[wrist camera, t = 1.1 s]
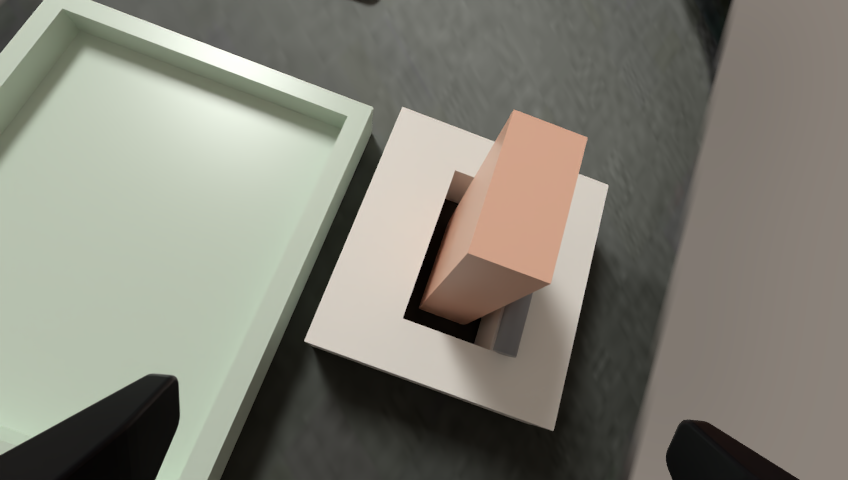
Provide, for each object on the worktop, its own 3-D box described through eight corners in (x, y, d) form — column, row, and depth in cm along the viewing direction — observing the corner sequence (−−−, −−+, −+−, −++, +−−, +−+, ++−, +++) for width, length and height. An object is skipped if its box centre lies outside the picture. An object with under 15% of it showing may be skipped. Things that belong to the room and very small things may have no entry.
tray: (203, 516, 19) (182, 536, 17) (-188, 381, 19) (-267, 382, 16) (371, 132, 25) (373, 107, 23) (83, 23, 25) (54, -14, 23)
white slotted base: (524, 422, 22) (564, 433, 18) (312, 346, 22) (301, 339, 17) (576, 209, 26) (619, 176, 22) (396, 141, 26) (404, 94, 21)
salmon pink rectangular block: (463, 325, 23) (550, 283, 13) (418, 308, 23) (467, 253, 13) (490, 238, 25) (587, 137, 14) (447, 222, 25) (513, 109, 14)
